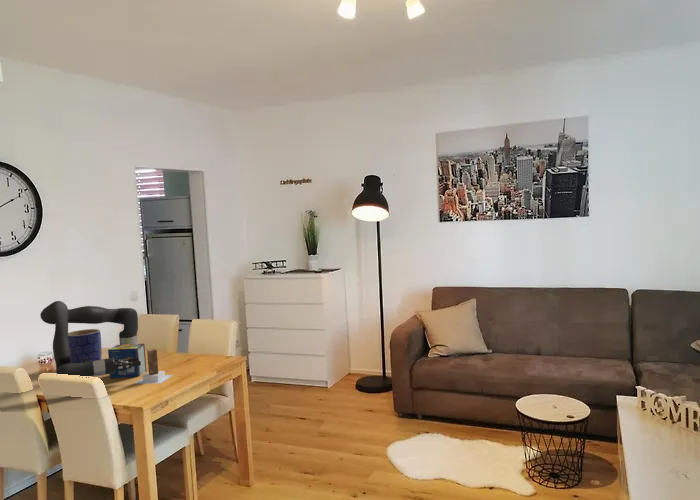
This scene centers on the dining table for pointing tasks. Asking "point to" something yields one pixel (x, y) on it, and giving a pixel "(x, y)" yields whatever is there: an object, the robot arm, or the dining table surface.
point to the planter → (85, 345)
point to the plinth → (153, 377)
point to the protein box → (128, 352)
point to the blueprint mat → (154, 382)
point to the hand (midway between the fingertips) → (139, 361)
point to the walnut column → (152, 361)
